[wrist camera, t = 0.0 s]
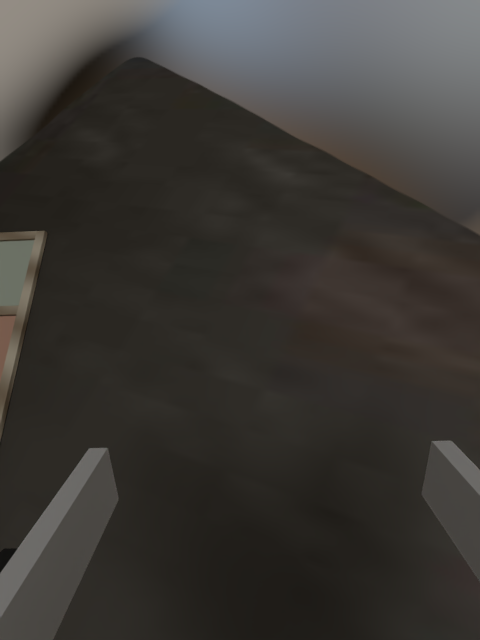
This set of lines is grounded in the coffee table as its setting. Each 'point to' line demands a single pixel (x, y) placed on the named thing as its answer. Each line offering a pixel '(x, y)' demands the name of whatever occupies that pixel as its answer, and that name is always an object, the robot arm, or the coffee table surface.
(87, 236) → the coffee table surface
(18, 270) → the frame
